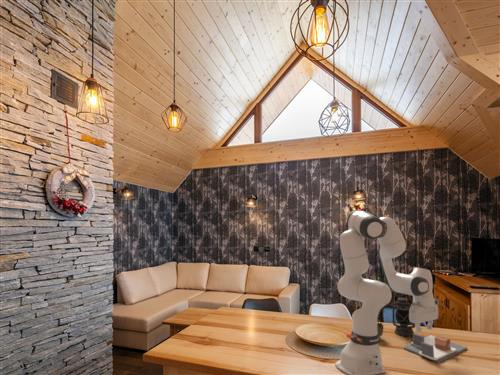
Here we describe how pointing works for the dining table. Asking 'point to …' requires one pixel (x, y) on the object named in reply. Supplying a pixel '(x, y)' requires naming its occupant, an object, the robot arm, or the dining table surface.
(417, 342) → the grey strip
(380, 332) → the dark ornate pot
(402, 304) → the lantern
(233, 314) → the dining table surface
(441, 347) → the rust block
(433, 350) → the white strip
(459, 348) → the slate board
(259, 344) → the dining table surface
